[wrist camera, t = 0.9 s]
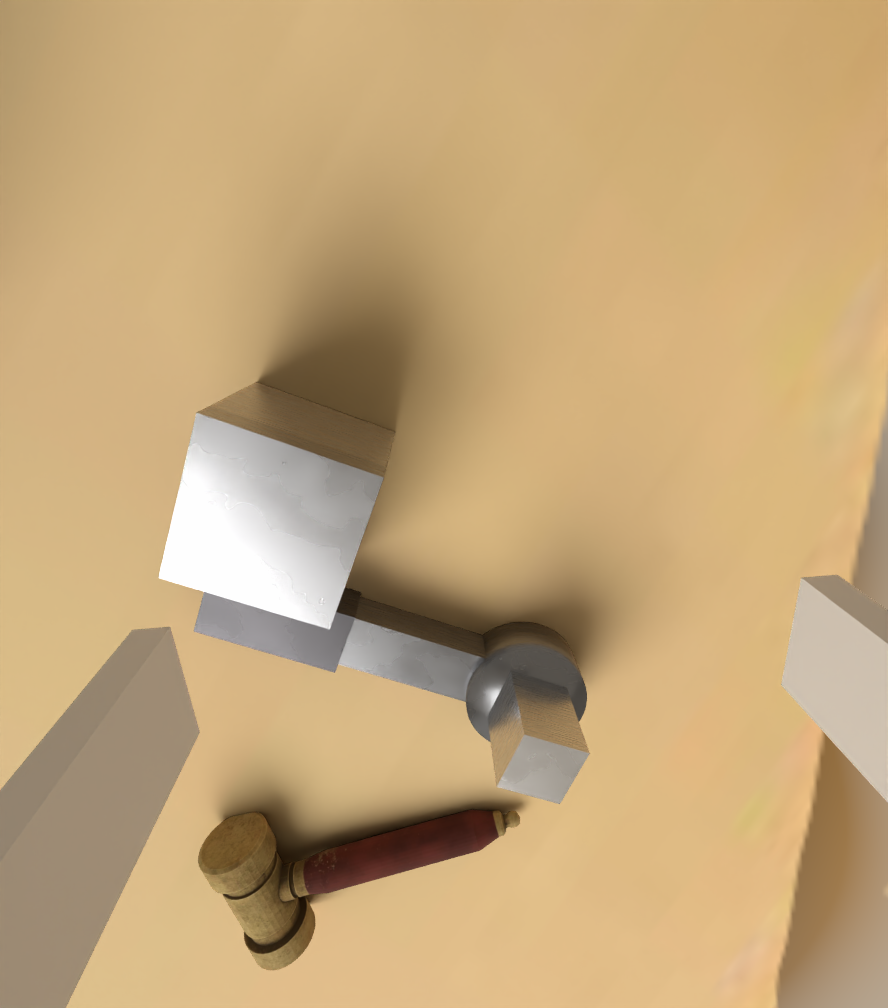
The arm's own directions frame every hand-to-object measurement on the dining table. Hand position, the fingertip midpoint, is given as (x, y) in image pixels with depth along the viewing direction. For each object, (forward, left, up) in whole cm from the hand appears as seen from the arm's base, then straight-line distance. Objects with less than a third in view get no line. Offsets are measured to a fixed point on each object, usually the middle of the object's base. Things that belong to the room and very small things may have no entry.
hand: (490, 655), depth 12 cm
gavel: (+5, -29, -20) cm, 36 cm away
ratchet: (+1, -13, -20) cm, 23 cm away
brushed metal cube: (-7, -5, -20) cm, 21 cm away
